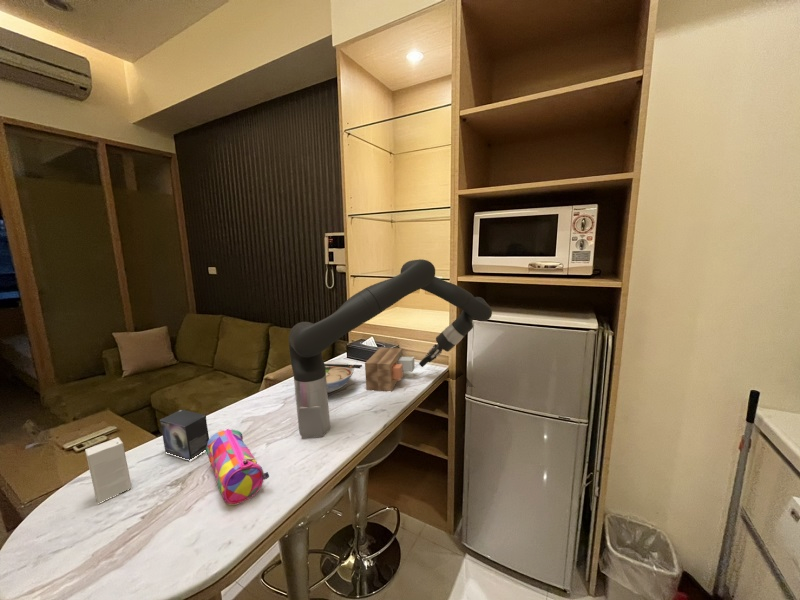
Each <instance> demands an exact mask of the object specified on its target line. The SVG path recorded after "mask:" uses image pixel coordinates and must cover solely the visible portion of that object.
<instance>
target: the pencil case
mask: <svg viewBox="0 0 800 600" xmlns="http://www.w3.org/2000/svg"><path fill="white" fill-rule="evenodd" d="M243 437H244V436H243V433H242V432H241V431H239V430H235V429H229V428H228V429H225V430H220V431H218V432H215V433H214V434H212V435H211V436H210V437H209V441H208V443H207V447H206V452H205V453H206V454H207V455H206V456H207V458H208V460H209V462H210V465H211V467H212V469H213V473H214V477H215V479H216V483H217V487H218V490H219V492H220V494H221V496H222V498H223V501H224V502H225V503H226V504H227V505H229V506H235V505H238V504H241V503H243V502H245V501H247V500H249V499H252V498H253V497H254V496H255V495H257V493H258V492H260V489H261V487H262V485H263V484H264V481H265V480H267V479H269V477H270V475H269V472H268V471H267V472H264V470H263V468H262V466H261V465H260V464H259V463H257V460H256V458H255V457H254V456H253V455H254V454H253V453H252V452H251V450H250V449H249V447H248V446H247V445H246V444H245V443H244V440H243V439H244V438H243Z"/></svg>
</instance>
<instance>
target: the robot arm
mask: <svg viewBox="0 0 800 600" xmlns="http://www.w3.org/2000/svg"><path fill="white" fill-rule="evenodd" d="M399 272H400V273H399V274H397V275H395V276H394V277H391V278H388V279H385V280H382V281H380V282H377V283H374V284H371V285H369V286H367V287H365V288H363V289H362V290H360V291H358V292H357V293H355V294H353V295H352V296H351V297H349V298H348V299H347V300H346V301H345V302H344V303H343V304H342V305H341V306H340V307H339V308H338V309H337V310H335V312H333V313H332V314H331V315H328V316H327V317H324V318H323V319H321V320H319V321H316V322H315V323H313V322H310V321H300V322H298V323H296V324H295V325H294V326H293V327H292V328H291V329H290V331H289V334H288V347H289V357H290V365H291V369H292V374H293V381H294V392H295V393H294V394H295V405H296V415H297V424H298V434H299V435H300V436H301V439H303V440H304V439H312V438H313V439H314V438H322V437H324V436H325V435H326V433H328V431H329V430H330V429H331V421H330V411H329V409H330V408H329V397H328V396H329V395H328V394H329V393H327V381H326V369H325V364H324V363H325V361H324V359H323V352H324V351H326V349H328V348H329V347H330V346H332V344H333V343H336V342H337V340H339V339H340V338H342V337H343V336H345V335H346V334H348V333H350V332H352V331H354V330H355V329H356V328H358V327H360V326H361V325H363V324H365V323H367V322H369V321H370V320H372V319H374V318H375V317H377V316H378V315H379V314H381V313H383V312H384V311H385V310H387V309H389V308H390V307H392V306H394V305H395V304H396V303H398V302H399V301H400V300H402V299H403V298H405V297H406V296H409V295H410V294H414V293H415V292H417V291H420V290H423V291H424V292H425V291H426V292H428V293H430V294H432V295H435V296H437V297H438V298H441V299H442V300H444V301H446V302H448V303H449V304H451V305H453V306H455V307H457V308H458V309H460V310H461V313H460V314H459V316H458V317H456V319H455V320H453V322H452V323H450V324H449V325H448V326H446V327H445V328H444V330H442V331H441V332H440V333H439V334H438V335H437V336H436V337H435V341H436V343H437V344H436V343H434V344H433V346H432V347H431V348H430V349H429V350H428V352H427V353H426V354H425V356H424V358H422V359H421V360H420V361H419V362H418V365H419V366H420V367H421V368H423V367H425V366H426V365H427V364H428V363H431V362H432V361H434V360H436V359H437V357H439V356H440V355H442V352H443V351H445V352H447V353H448V352H450V351H451V350H452V349H453V348H454V347H455V346H457V345H458V344H459V343H460V342H461V341H462V339H463V338H465V336H466V335H467V334H469V333H470V331H471V330H472V329H473V328H474V324H473V321H474V320H475V321H478V322H487V321H488V320H490V319H491V318H492V315H493V311H492V310H493V309H492V307H490V305H489V304H488V302H486V300H485V298H483V297H480V296H474V295H473V294H472V293H471V292H470V291H468V290H467V289H464V288H463V287H461V286H459V285H457V284H455V283H452V282H449V281H446V280H443V279H441V278H439V277H436V267H435V265H434V264H433V263H432V262H431V261H429V260H426V259H420V258H419V259H412V260H409V261H406V262H405V263H403V265H402V266H401V268H400V271H399Z"/></svg>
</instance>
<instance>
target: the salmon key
mask: <svg viewBox="0 0 800 600" xmlns="http://www.w3.org/2000/svg"><path fill="white" fill-rule="evenodd" d="M403 376H404V371H403V364H394V365H393V367H392V379H397V380H398V381H402V380H401V379H402V378H403Z"/></svg>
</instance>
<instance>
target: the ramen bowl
mask: <svg viewBox="0 0 800 600" xmlns="http://www.w3.org/2000/svg"><path fill="white" fill-rule="evenodd" d="M324 364H325V369H326V381H327V394H330V393H333V392H334V391H337V390H339V389H341V388H343V387H344V386H345V385H347V383H348V382H349V381H350V379H351V377H352V376H353V373H354V372H355V371H354V370H355V369H361V368H362V367H363V365H362V364H349V363H346V362H339V361H338V362H337V361H333V362H332V361H331V362H330V361H329V362H324Z"/></svg>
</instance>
